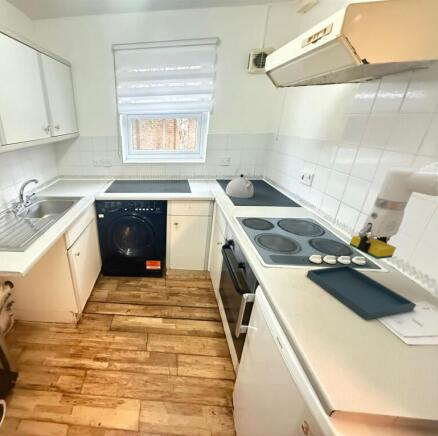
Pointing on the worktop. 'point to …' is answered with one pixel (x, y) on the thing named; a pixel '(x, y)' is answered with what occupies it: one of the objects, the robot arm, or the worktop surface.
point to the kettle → (240, 187)
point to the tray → (360, 292)
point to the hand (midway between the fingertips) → (370, 249)
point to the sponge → (375, 248)
